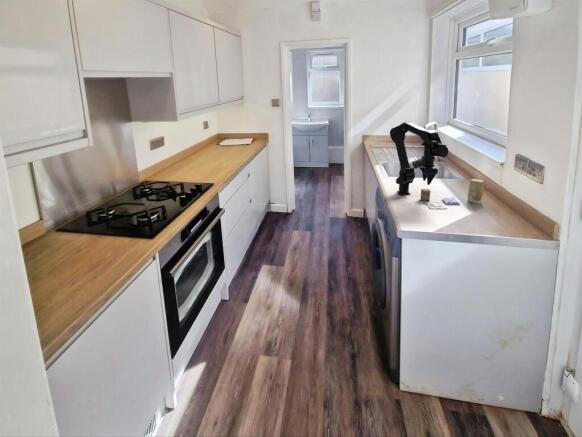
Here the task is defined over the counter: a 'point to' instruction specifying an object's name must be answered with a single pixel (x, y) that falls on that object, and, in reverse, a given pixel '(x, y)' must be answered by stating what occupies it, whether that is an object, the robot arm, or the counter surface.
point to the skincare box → (475, 190)
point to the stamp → (425, 195)
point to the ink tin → (450, 201)
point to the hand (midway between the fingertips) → (426, 182)
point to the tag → (435, 205)
